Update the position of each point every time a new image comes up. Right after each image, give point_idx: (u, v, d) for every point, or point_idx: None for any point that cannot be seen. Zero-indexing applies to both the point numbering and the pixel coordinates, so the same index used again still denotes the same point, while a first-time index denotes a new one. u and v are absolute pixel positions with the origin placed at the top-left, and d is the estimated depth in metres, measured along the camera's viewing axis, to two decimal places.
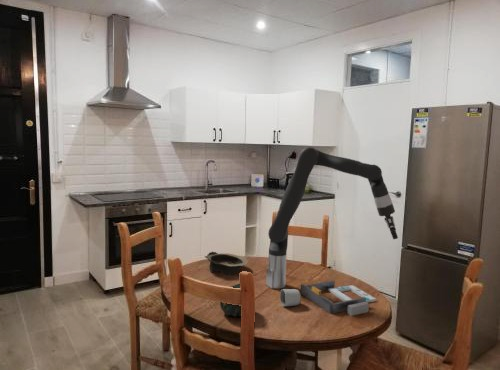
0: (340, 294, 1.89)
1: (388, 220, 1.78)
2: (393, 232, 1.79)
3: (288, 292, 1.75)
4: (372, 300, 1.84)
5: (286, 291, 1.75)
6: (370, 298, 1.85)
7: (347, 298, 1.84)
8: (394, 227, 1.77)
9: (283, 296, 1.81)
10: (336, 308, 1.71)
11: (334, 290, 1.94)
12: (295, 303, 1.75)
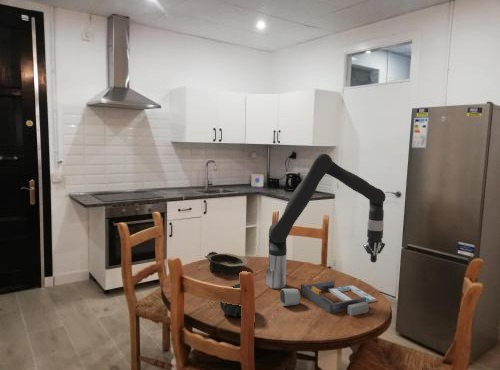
0: (340, 294, 1.89)
1: (364, 246, 1.91)
2: (371, 255, 1.94)
3: (288, 292, 1.76)
4: (372, 300, 1.84)
5: (286, 291, 1.76)
6: (370, 298, 1.85)
7: (347, 298, 1.84)
8: (369, 253, 1.91)
9: (282, 295, 1.81)
10: (336, 308, 1.71)
11: (334, 290, 1.94)
12: (295, 303, 1.76)
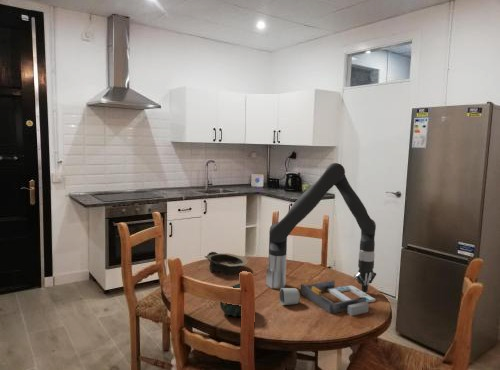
0: (339, 294, 1.89)
1: (355, 277, 1.91)
2: (362, 285, 1.93)
3: (287, 291, 1.76)
4: (371, 300, 1.84)
5: (285, 290, 1.77)
6: (369, 298, 1.85)
7: (346, 298, 1.84)
8: (360, 283, 1.91)
9: (282, 294, 1.82)
10: (336, 308, 1.71)
11: (333, 290, 1.94)
12: (294, 302, 1.77)
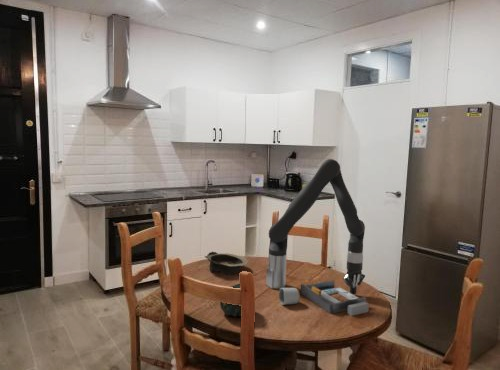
0: (328, 297, 1.85)
1: (343, 279, 1.88)
2: (351, 287, 1.90)
3: (287, 291, 1.77)
4: None
5: (285, 290, 1.77)
6: None
7: (336, 301, 1.81)
8: (349, 285, 1.88)
9: (281, 294, 1.82)
10: (336, 308, 1.71)
11: (321, 293, 1.90)
12: (294, 301, 1.77)
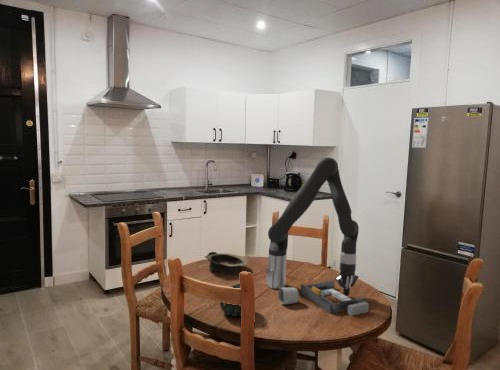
0: None
1: (336, 280, 1.86)
2: (344, 289, 1.88)
3: (286, 290, 1.77)
4: None
5: (284, 289, 1.77)
6: None
7: None
8: (342, 286, 1.86)
9: (281, 294, 1.83)
10: (336, 308, 1.71)
11: None
12: (293, 301, 1.77)
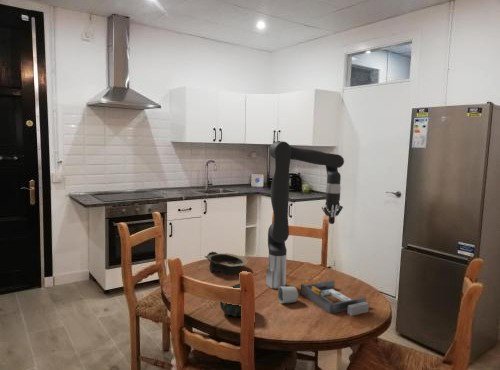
0: None
1: (322, 208, 2.03)
2: (329, 217, 2.06)
3: (286, 289, 1.78)
4: None
5: (284, 288, 1.79)
6: None
7: None
8: (327, 214, 2.03)
9: (280, 293, 1.84)
10: (336, 308, 1.71)
11: None
12: (292, 300, 1.79)
